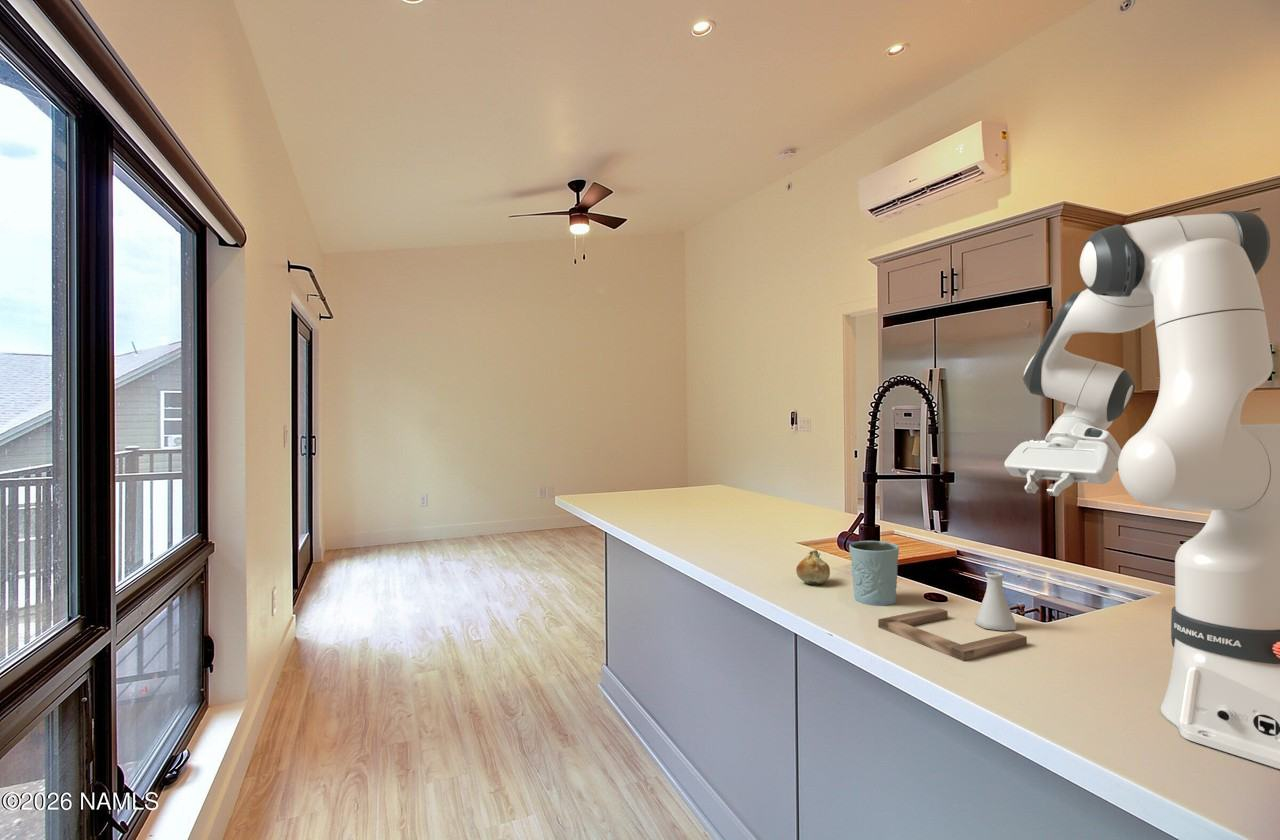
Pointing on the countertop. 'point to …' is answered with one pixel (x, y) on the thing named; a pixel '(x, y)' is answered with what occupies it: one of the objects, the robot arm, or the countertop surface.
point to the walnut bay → (963, 652)
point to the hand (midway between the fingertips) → (1040, 492)
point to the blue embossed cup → (874, 572)
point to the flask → (995, 606)
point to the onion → (813, 569)
